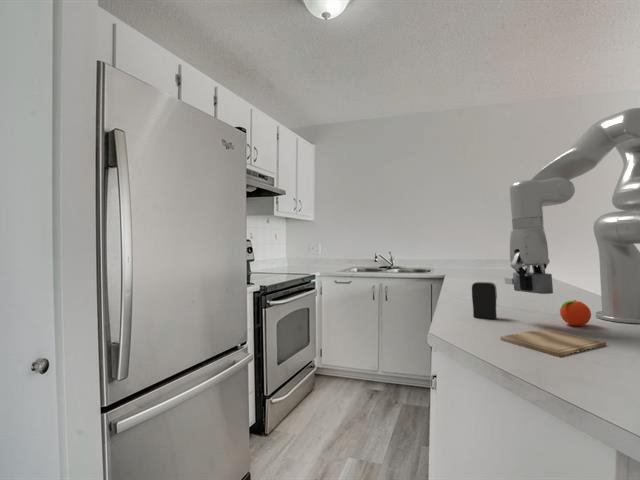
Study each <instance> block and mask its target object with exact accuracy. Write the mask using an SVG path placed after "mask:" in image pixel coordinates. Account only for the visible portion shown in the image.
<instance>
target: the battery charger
mask: <svg viewBox="0 0 640 480" xmlns="http://www.w3.org/2000/svg"><path fill="white" fill-rule="evenodd" d="M471 299H472V313H473V314H472V315H473V318H478V319H488V320H496V319H497V318H498V314H497V299H498V294H497V285H496V284H495V283H494V282H491V281H476V282H474V283H472V284H471Z"/></svg>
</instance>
